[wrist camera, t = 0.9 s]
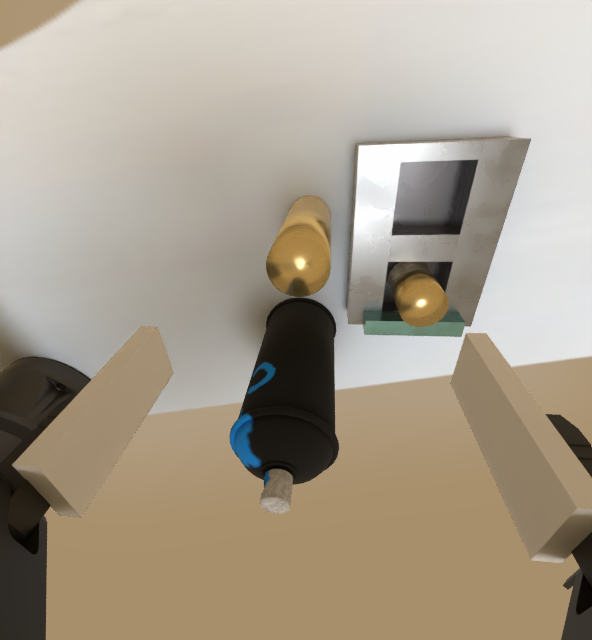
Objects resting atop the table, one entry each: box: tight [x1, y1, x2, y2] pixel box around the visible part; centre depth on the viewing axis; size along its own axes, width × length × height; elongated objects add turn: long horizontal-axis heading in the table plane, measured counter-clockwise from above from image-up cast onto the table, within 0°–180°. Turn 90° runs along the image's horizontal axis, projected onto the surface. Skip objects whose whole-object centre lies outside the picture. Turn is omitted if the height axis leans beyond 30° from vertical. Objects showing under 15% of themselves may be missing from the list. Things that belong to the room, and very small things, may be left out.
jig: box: [347, 137, 531, 337], centre depth 26 cm, size 12×16×6 cm
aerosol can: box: [230, 298, 339, 513], centre depth 28 cm, size 8×8×20 cm
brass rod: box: [266, 196, 331, 297], centre depth 24 cm, size 4×4×12 cm
